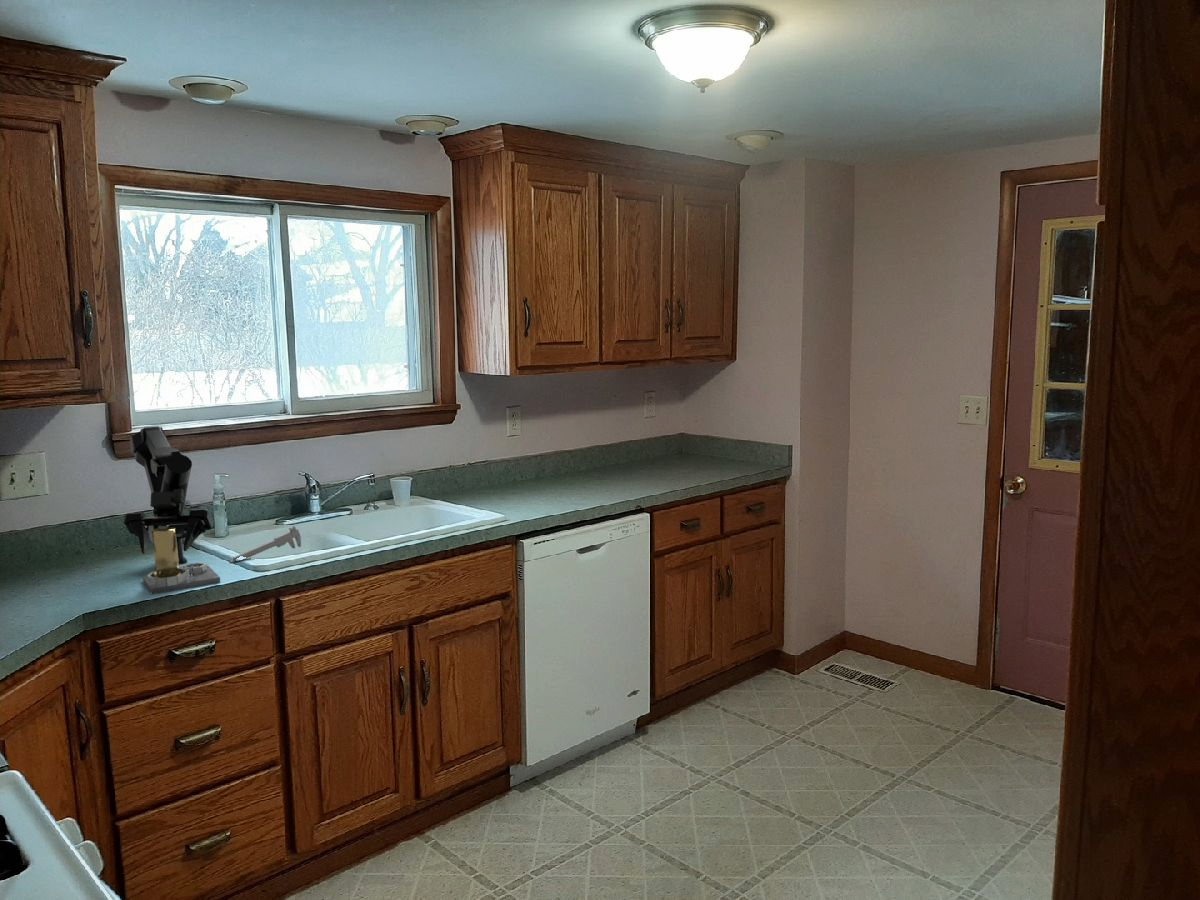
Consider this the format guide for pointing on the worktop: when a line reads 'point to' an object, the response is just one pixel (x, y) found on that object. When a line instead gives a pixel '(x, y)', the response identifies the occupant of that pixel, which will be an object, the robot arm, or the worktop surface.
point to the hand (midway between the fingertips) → (164, 551)
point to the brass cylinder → (165, 551)
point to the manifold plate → (189, 583)
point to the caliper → (274, 543)
